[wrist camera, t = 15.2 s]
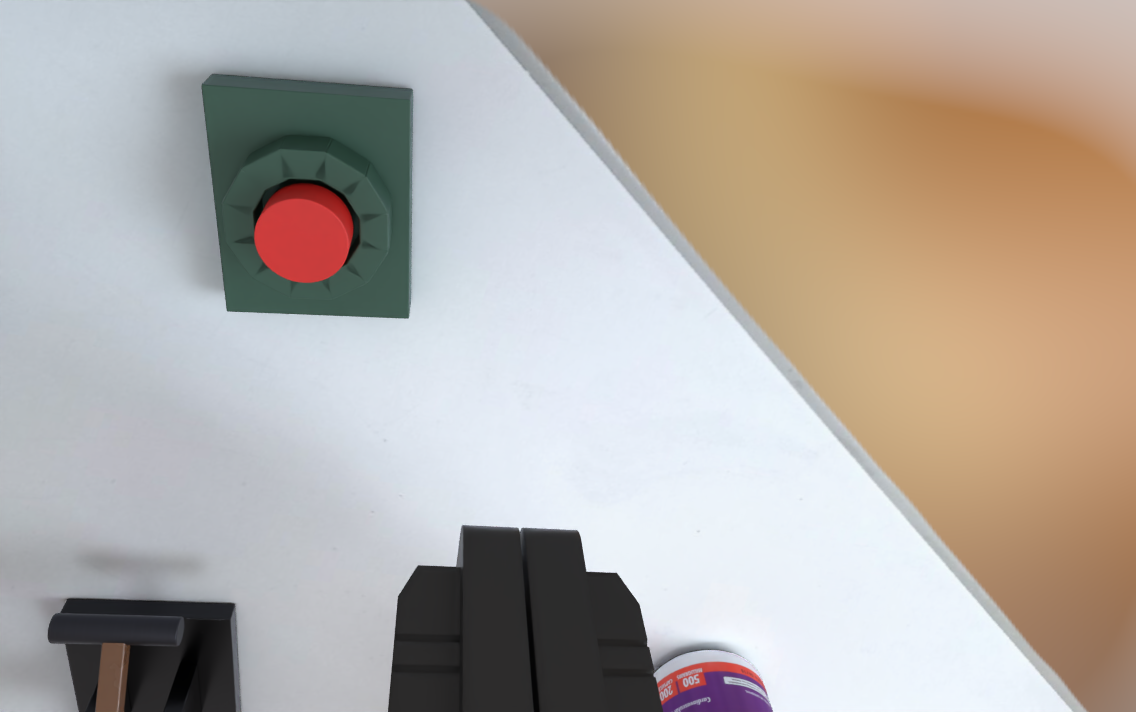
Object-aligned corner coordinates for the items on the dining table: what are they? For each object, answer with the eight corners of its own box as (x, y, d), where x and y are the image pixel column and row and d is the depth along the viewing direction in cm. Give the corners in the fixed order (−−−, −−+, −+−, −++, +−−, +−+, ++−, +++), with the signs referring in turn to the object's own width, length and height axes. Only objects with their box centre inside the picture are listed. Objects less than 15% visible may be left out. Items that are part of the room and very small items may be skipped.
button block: (211, 73, 35) (188, 96, 32) (412, 88, 36) (408, 112, 33) (235, 294, 40) (216, 331, 37) (410, 301, 41) (406, 338, 38)
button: (259, 179, 35) (250, 195, 33) (352, 185, 35) (347, 201, 34) (266, 262, 36) (257, 281, 35) (354, 266, 37) (350, 285, 35)
